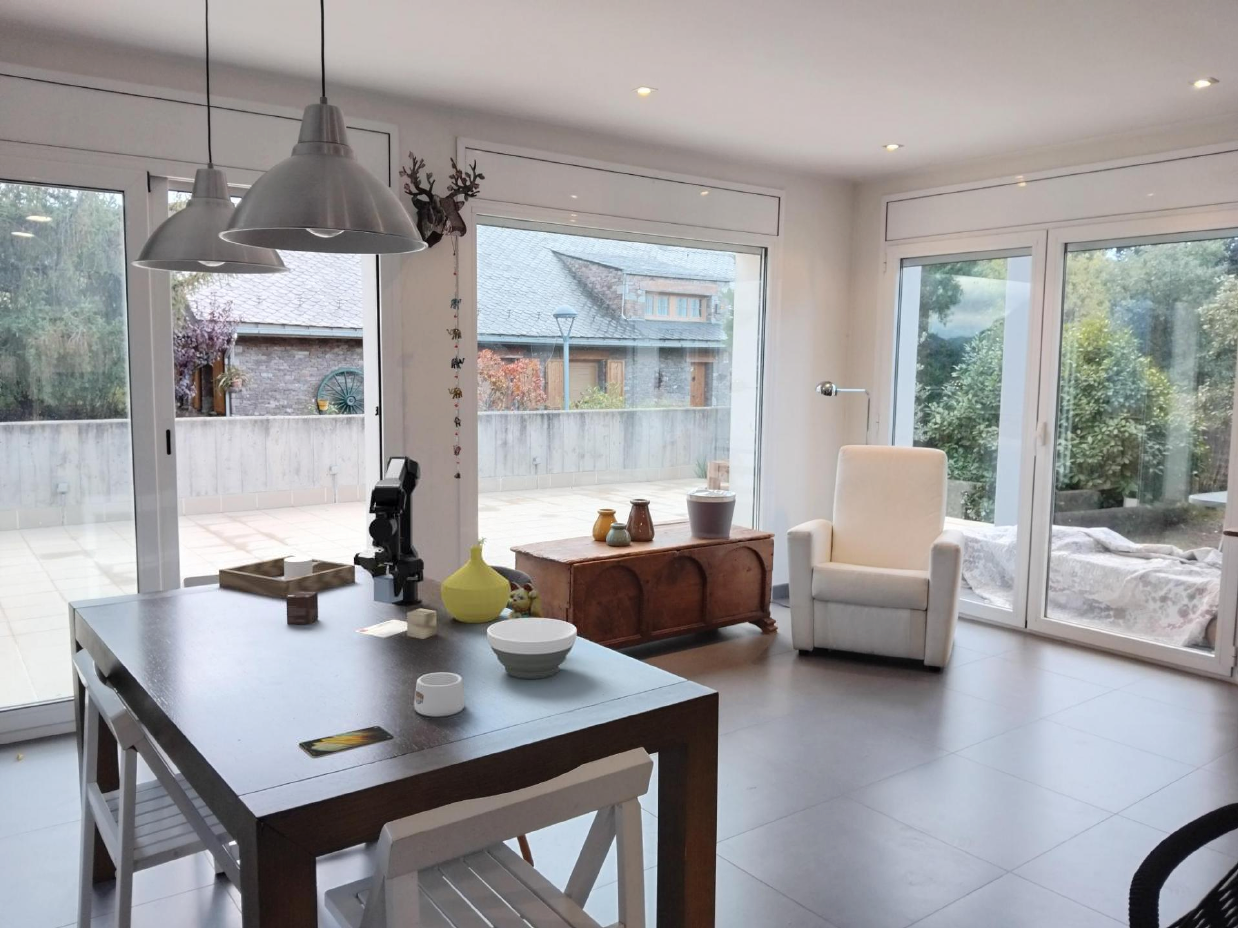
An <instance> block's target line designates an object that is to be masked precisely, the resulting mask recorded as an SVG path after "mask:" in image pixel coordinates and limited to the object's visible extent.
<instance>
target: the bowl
mask: <svg viewBox="0 0 1238 928" xmlns="http://www.w3.org/2000/svg"><path fill="white" fill-rule="evenodd" d="M577 635H578V629H577V627H576V626H575V625H574V624H572V623H570V622H568V621H564V620H560V619H555V618H554V619H553V618H547V617H546V618H545V617H542V618H519V619H510V620H507V619H506V620H501V621H497V622H495V623H493V624H491V625H489V626H488V628H487V629H486V638H487V641H488V645H489V646H490V648H491V650H492V652H494V654H495V655H496V657H497V660H498V661H499V663H500V664H501V665H502V666H504V670H505V672H506V674H508V675H509V676H512V677H514V678H517V679H521V680H522V679H523V680H539V679H545V678H549V677H551V676H553V675H554V674H556V673H557V672H558V670H559V667H560V665H562V664H563V662H565V660H566V658H567V656H568V654H569V653H570V652H571V650H572V648H573V647H574V645H575V643H576V639H577Z"/></svg>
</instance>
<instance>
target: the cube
mask: <svg viewBox="0 0 1238 928" xmlns="http://www.w3.org/2000/svg"><path fill="white" fill-rule="evenodd" d="M400 600H403V588H402V590H401V592H400V595H399V596H398V597H395V596H394V578H393V576H392V575H391V574H389V573H386V574H385V575H381V576H377V577H374V580H373V601H374V602H377V603H384V604H394V603H393V602H396V601H400Z"/></svg>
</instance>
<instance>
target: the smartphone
mask: <svg viewBox="0 0 1238 928" xmlns="http://www.w3.org/2000/svg"><path fill="white" fill-rule="evenodd" d="M394 738H395V737H394V735H393V734H391V733H390V732H388V731H387V730H386V729H384V728H383V727H381V726H379V725H376V726H369V727H366V728H359V729H356V730H352V731H346V732H342V733H337V734H334V735H329V736H325V737H321V738H315V739H311V740H306V741H302V742H299V744H298V747H299V748H300V749H301V750H302V751H304V752H305V753H306V754H307V755H308V756H310V758H313V759H314V758H315V759H316V758H320V757H324V756H329V755H333V754H335V753H340V752H346V751H349V750H354V749H356V748H357V749H358V748H362V747H364V746H369V745H373V744H378V743H381V742H385V741H390V740H393V739H394Z"/></svg>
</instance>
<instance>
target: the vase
mask: <svg viewBox="0 0 1238 928" xmlns="http://www.w3.org/2000/svg"><path fill="white" fill-rule="evenodd" d="M482 548H483V547H482V546H479V545H477V546H475V545H474V546H470V555H469V556H470V557H469V560H467V562H466V563H465V564H464V565H463V566H462V567H461V568H459V569H457V570H456V571H455V572H454V573H453V574H451V575H450V576H449V577H447V578H446V579H444V581H442V583H441V586H440V596H441V600H442V602H443V605H444V608H445V610H446V611H448V613H449V615H450V616H451V617H453V618H454V619H456V620H457V621H459V622H462V623H466V624H467V623H468V624H480V623H481V624H482V623H488V622H492V621H494V620H496V619H497V618H498V617H499V616H500V615H501V614H502V613H503V612H504V610H505V609H506V607H507V606H508V604H509V602H508V599H509V596H510V594H511V592H512V591H511V588H510V581H509V580H508V579H507V578H506V577H504V576H503V575H501V573H499V572H497V571H496V570H495V569H494V568H492V567H491V566H490V565H489V564H487V563H486V562H485V560H484V559H483V553H482V552H483V549H482Z"/></svg>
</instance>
